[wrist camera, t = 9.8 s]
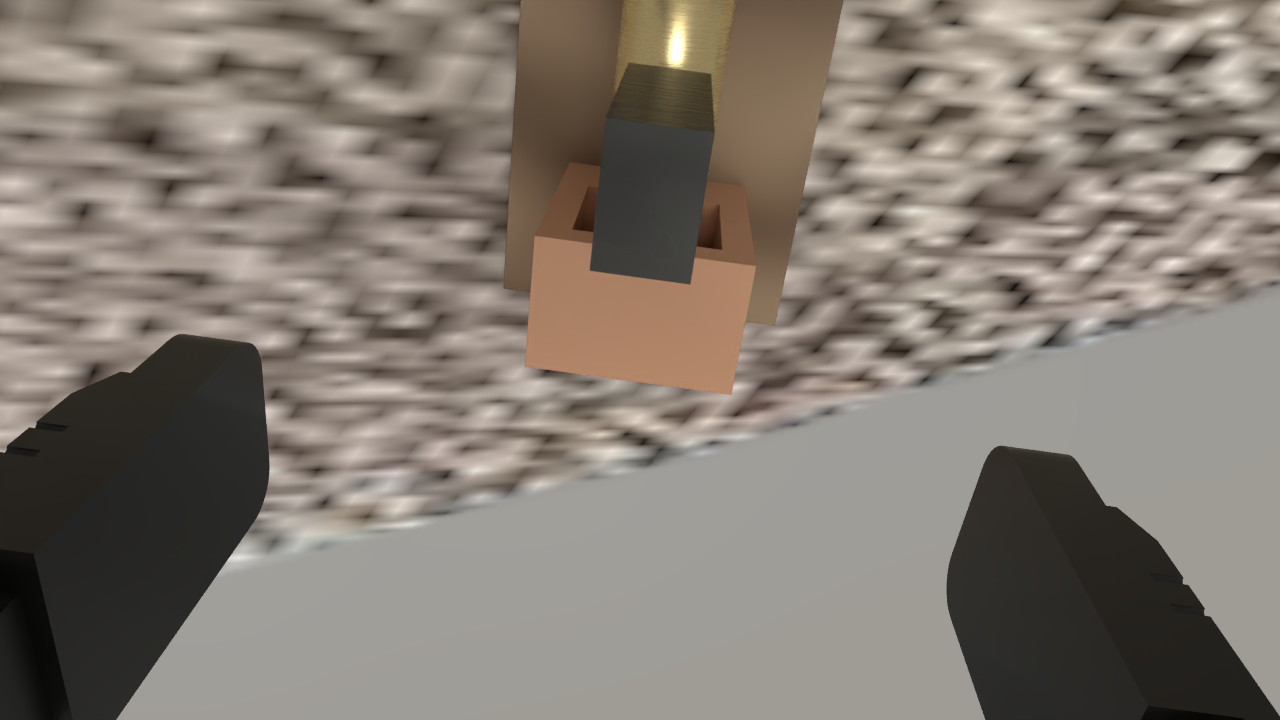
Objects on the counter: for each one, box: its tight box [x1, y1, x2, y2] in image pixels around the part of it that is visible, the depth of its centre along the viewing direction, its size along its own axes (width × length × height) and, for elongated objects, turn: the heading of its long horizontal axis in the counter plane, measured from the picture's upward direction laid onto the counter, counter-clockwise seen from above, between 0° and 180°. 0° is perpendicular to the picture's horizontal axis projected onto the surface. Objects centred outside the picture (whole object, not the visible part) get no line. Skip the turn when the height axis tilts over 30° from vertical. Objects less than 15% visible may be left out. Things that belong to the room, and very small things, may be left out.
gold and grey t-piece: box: [590, 0, 737, 285], centre depth 22 cm, size 13×3×11 cm, turn 173°
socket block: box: [525, 162, 756, 395], centre depth 29 cm, size 4×6×8 cm, turn 83°
